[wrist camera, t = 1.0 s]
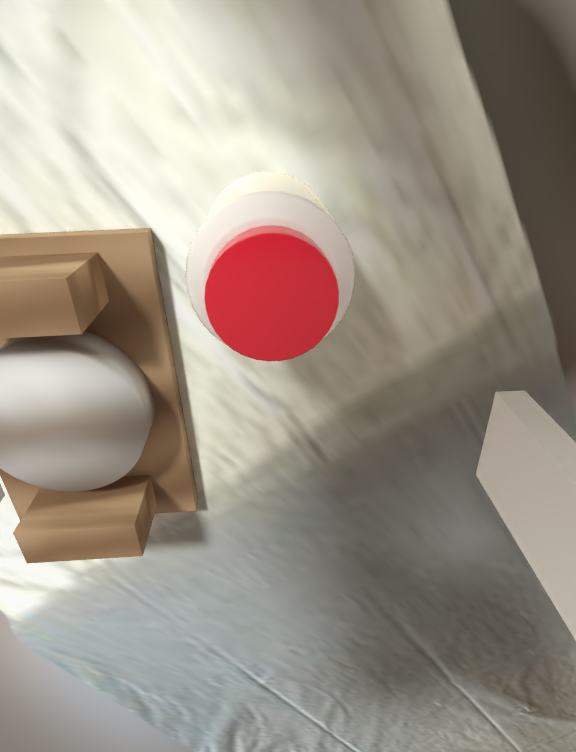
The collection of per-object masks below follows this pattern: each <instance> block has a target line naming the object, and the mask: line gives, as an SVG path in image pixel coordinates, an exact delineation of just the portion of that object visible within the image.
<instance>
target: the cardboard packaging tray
mask: <svg viewBox="0 0 576 752" xmlns="http://www.w3.org/2000/svg"><path fill="white" fill-rule="evenodd" d="M0 476H1V478H2V480H3V482H4V485H5V487H6V489H7V491H8V494H9V496H10V498H11V501H12V503H13V505H14V507H15V510H16V512H17V514H18V516H19V519H20V522H19V524H18V526H17V527H16V529H15V531H14V532H13V534H14V536H15V538H16V540H17V542H18V544H19V547H20V549H21V551H22V553H23V555H24V557H25V560H26V562H27V563H39V562H55V561H70V560H86V559H102V558H118V557H133V556H143V553H144V549H145V545H146V542H147V538H148V534H149V531H150V527H151V523H152V520H153V516H154V513H168V512H184V511H196V509H197V503H198V497H197V492H196V486H195V480H194V474H193V469H192V463H191V457H190V451H189V446H188V440H187V434H186V428H185V423H184V417H183V411H182V405H181V400H180V394H179V388H178V382H177V377H176V371H175V365H174V360H173V354H172V348H171V342H170V337H169V331H168V325H167V319H166V314H165V308H164V302H163V296H162V291H161V285H160V279H159V273H158V268H157V262H156V256H155V250H154V245H153V239H152V233H151V228H144V229H121V230H98V231H75V232H53V233H30V234H7V235H0Z"/></svg>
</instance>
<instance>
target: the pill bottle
mask: <svg viewBox="0 0 576 752" xmlns="http://www.w3.org/2000/svg"><path fill="white" fill-rule="evenodd" d="M354 277H355V268H354V261H353V254H352V252H351V249H350V246H349V243H348V241H347V238H346V236H345V235H344V233H343V231H342V230H341V228H340V227H339V225H338V223H337V222H336V221H335V219H334V218H333V216H332V215H331V214H330V212H329V211H328V210H327V208H326V207H325V206H324V204H323V203H322V201H321V200H320V199H319V197H318V196H317V195H316V194H315V193H314V192H313V191H312V190H311V189H310V188H309V187H308V186H307V185H305V184H304V183H303V182H301V181H300V180H298V179H296V178H294V177H291V176H289V175H287V174H283V173H278V172H257V173H252V174H248V175H245V176H243V177H241V178H239V179H237V180H235V181H234V182H232V183H231V184H230V185H228V186H227V187H226V188H225V189H224V190H223V191H222V192H221V193H220V194H219V196H218V197H217V198H216V199H215V201H214V203H213V205H212V206H211V208H210V210H209V212H208V213H207V215H206V217H205V219H204V221H203V222H202V224H201V226H200V228H199V230H198V231H197V233H196V235H195V237H194V239H193V241H192V243H191V246H190V250H189V253H188V257H187V262H186V284H187V291H188V295H189V298H190V301H191V304H192V307H193V309H194V310H195V312H196V314H197V316H198V317H199V319H200V321H201V322H202V323H203V325H204V326H205V327H206V328H207V329H208V330H209V332H210V333H211V334H212V335H214V336H215V337H216V338H217V339H219V340H220V341H221V342H222V343H224V344H226V345H228V346H229V347H230V348H232V349H233V350H235V351H236V352H238V353H240V354H242V355H244V356H247V357H250V358H253V359H256V360H263V361H282V360H286V359H291V358H294V357H297V356H299V355H301V354H304V353H305V352H307V351H309V350H310V349H312V348H313V347H315V346H316V345H317V344H318V343H319V342H320V341H321V340H323V339H324V338H325V337H326V336H327V335H328V334H329V333H330V332H331V331H332V330H334V328H335V327H336V326H337V324H338V323H339V322H340V320H341V319H342V317H343V316H344V314H345V312H346V310H347V307H348V305H349V303H350V300H351V296H352V292H353V288H354Z"/></svg>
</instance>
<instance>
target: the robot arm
mask: <svg viewBox="0 0 576 752" xmlns="http://www.w3.org/2000/svg"><path fill="white" fill-rule="evenodd" d="M476 476H477V478H478V479H479V481H480V483H481V484H482V486H483V488H484V489H485V491H486V493H487V494H488V496H489V498H490V499H491V501H492V503H493V504H494V506H495V508H496V509H497V511H498V513H499V514H500V516H501V518H502V519H503V521H504V522H505V524H506V526H507V527H508V529H509V531H510V532H511V534H512V536H513V537H514V539H515V541H516V542H517V544H518V546H519V547H520V549H521V551H522V552H523V554H524V556H525V557H526V559H527V561H528V562H529V564H530V566H531V567H532V569H533V571H534V572H535V574H536V576H537V577H538V579H539V581H540V582H541V584H542V586H543V587H544V589H545V591H546V592H547V594H548V596H549V597H550V599H551V601H552V602H553V604H554V606H555V607H556V609H557V611H558V612H559V614H560V615H561V617H562V619H563V620H564V622H565V624H566V625H567V627H568V629H569V630H570V632H571V634H572V635H573V637H574V639H575V640H576V442H575V441H574V440H573V439H572V438H571V437H570V436H569V435H568V434H567V433H566V432H565V431H564V430H563V429H562V428H561V427H560V426H559V425H558V424H557V423H556V422H555V421H554V420H553V419H552V418H551V417H550V416H549V415H548V414H547V413H546V412H545V411H544V410H543V408H542V407H541V406H540V405H539V404H538V403H537V402H536V401H535V400H534V399H533V398H532V397H531V396H530V395H529V394H528V393H527V392H526V391H501V392H496V393H495V397H494V401H493V405H492V409H491V413H490V418H489V422H488V426H487V430H486V434H485V438H484V442H483V447H482V451H481V455H480V459H479V463H478V467H477V471H476ZM4 496H5V494H4V492H3V489H2V487H1V484H0V502H1V500H2V499H3V497H4Z"/></svg>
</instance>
